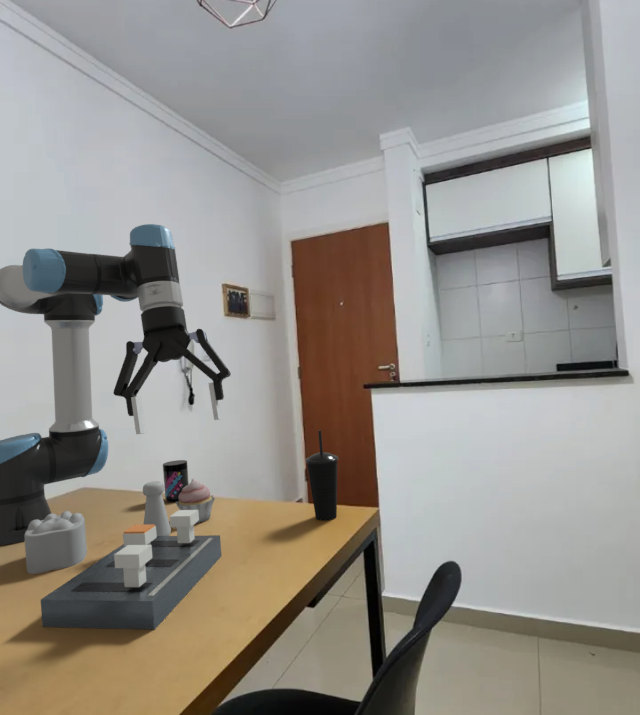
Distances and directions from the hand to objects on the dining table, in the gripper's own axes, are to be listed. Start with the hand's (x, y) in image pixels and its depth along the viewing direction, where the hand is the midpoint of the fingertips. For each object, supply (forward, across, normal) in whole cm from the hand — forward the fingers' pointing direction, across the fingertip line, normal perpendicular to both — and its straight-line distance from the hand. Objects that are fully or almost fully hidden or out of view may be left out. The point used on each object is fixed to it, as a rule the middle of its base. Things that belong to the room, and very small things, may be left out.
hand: (179, 426), depth 84 cm
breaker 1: (+22, -8, -9) cm, 25 cm away
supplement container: (+19, -19, +55) cm, 61 cm away
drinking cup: (+26, +22, +29) cm, 45 cm away
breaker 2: (+21, -4, +8) cm, 23 cm away
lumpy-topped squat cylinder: (+22, -33, +17) cm, 43 cm away
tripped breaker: (+21, -10, 0) cm, 23 cm away
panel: (+26, -10, +1) cm, 27 cm away
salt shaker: (+23, -14, +21) cm, 34 cm away
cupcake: (+22, -9, +35) cm, 42 cm away
